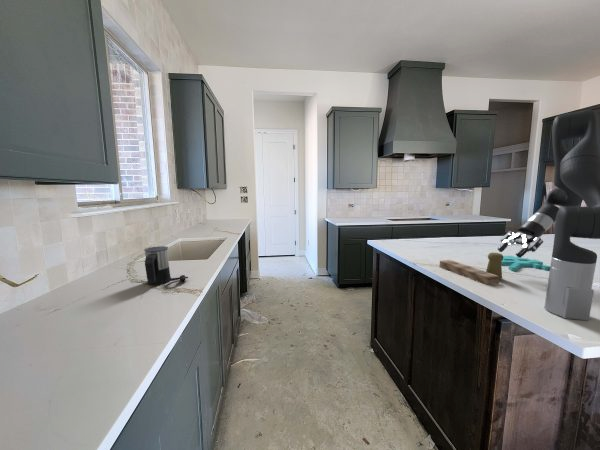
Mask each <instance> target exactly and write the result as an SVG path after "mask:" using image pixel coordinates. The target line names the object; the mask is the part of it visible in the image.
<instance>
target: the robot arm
mask: <svg viewBox="0 0 600 450" xmlns="http://www.w3.org/2000/svg"><path fill="white" fill-rule="evenodd" d="M551 129H552V130H551V135H552V136H551V137H552V139H551V140H552V152H553V160H554V173H553V174H554V176H553V185H554V186H555V187H556V188H553V189H551V190H550V191H549V192H548V193H547V195H546V198H545V200H544V202H543V203H542V205H540V206H541V207H540V208H539V209H538V210H536V212H535V213H534V214H532V215H531V216H529V217H528V218H527V220H526V221H525V222H523V223H522V225H521V226H519V227H518V231H516V232H515V233H514V232H513V231H511V230H510V231H507V233H506V234H504V235H503V236H502V238H500V239H499V241H500V242H501V244H499V246H498V247H497V251H498V253H502V252H504V251H505V250H506V249H507V248H508V246H511V245H512V246H513V245H520V246H522V247H521V248H520V249H519V250H518V251H517V252H516V253H515V257H519V258H520V257H521V258H523V257H524V255H525V254H526V253H527V252H528V253H529V252H532V253H535V252H536V251H537V250H538V249H539V247H540V246H541V245H543V243H544V240H543V239H542V238H541V237H542V236H543V235H544V234H545V233H546V232H547V231H548V230H549V229H550V228H551V227H552V225H553V224H554V223H555V224H554V235H553V236H554V237H553V238H554V239H553V244H552V245H553V246H552V252H551V253H552V254H551V260H550V270H549V273H548V279H547V287H546V295H545V299H544V300H545V301H544V310H546V311H547V312H549V313H551V314H553V315H556V316H560V317H562V318H563V319H568V320H569V319H570V320H580V321H581V320H583V321H589V320H590V316H591V310H592V305H593V298H594V293H595V291H594V289H592V288H593V283H594V278H595V277H594V276H595V271H596V267H597V266H596V265H597V261H598V260H597V259H598V254H597V253H596V252H595V251H593V250H590V249H588V248H584V247H583V246H579V245H577V244H575V243H573V242H572V241H571V238H576V239H577V238H579V239H590V240H591V239H592V240H593V239H594V240H600V146H599V117H598V113H597V112H596V111H595V110H594V109H583V110H580V111H579V110H578V111H573V112H568V113H567V112H566V113H562V114H559V115H557V116H555V117H554V120H553V121H552V128H551ZM579 138H581V139H580V141H579V142H578V143H577V144H576V145H575V146H574V147H573V148H572V149H570V151H569V150H568V149H567V148H566V145H565V141H566V140H572V139H573V140H574V139H579ZM582 202H584V203H585V206H581V204H582ZM558 206H559V207H558Z"/></svg>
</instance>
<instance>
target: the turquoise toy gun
mask: <svg viewBox="0 0 600 450" xmlns="http://www.w3.org/2000/svg"><path fill="white" fill-rule="evenodd" d="M501 266H508V270H509V271H511V272H518V270H519V269H521V268H534V269H541V270H543V271H550V266H549V265H547V264H544V261H540V260H538V259H531V258H528V257H527V258H526V257H524V258H523V257H520V258H519V257H517V256H514V255H503V260H502V261H501Z"/></svg>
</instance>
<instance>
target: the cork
mask: <svg viewBox="0 0 600 450" xmlns="http://www.w3.org/2000/svg"><path fill="white" fill-rule="evenodd" d="M503 256H504V255H503V254H502V253H501V252H489V253H488V255H487V260H488V264H487V267H486V270H485V272H488V273H491V274H494V275H497V276H499V281H502V280H503V271H502V270H503V269H502V265H501V261H502V260H503Z"/></svg>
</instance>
